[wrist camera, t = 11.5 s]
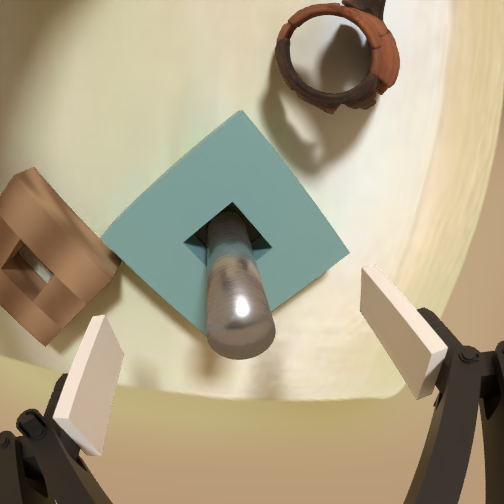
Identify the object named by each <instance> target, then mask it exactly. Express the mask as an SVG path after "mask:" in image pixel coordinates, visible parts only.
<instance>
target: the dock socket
mask: <svg viewBox="0 0 504 504" xmlns="http://www.w3.org/2000/svg"><path fill="white" fill-rule="evenodd" d="M231 202H233V203H234V204H235V205H236V206H237V207H238V208H239V209H240V211H241V212H242V213H243V214H244V215H245V216H246V217H247V219H248V220H249V221H250V222H251V223H252V224H253V226H254V227H255V228H256V229H257V230H258V231H259V233H260V234H261V236H260V237H258V238H257V239H256V240H254V241H253V242H252V243H251V247H252V250H253V254H254V257H255V260H256V264H257V267H258V270H259V274H260V277H261V281H262V284H263V287H264V291H265V294H266V298H267V301H268V304H269V308H270V311H272V310H274V309H275V308H277V307H278V306H279V305H281V304H282V303H284V302H285V301H286V300H288V299H289V298H290V297H292V296H293V295H295V294H296V293H297V292H299V291H300V290H301V289H303V288H304V287H305V286H307V285H308V284H309V283H311V282H312V281H313V280H315V279H316V278H317V277H319V276H320V275H321V274H323V273H324V272H325V271H327V270H328V269H329V268H331V267H332V266H333V265H335V264H336V263H337V262H339V261H340V260H341V259H342V258H344V257H345V256H346V255H348V254H349V253H350V252H349V251H348V249H347V248H346V246H345V245H344V244H343V242H342V241H341V239H340V238H339V236H338V235H337V233H336V232H335V231H334V229H333V228H332V226H331V225H330V223H329V222H328V221H327V219H326V218H325V216H324V215H323V214H322V212H321V211H320V209H319V208H318V207H317V205H316V204H315V203H314V201H313V200H312V198H311V197H310V196H309V194H308V193H307V192H306V190H305V189H304V188H303V186H302V185H301V184H300V182H299V181H298V180H297V178H296V177H295V176H294V174H293V173H292V172H291V170H290V169H289V168H288V166H287V165H286V164H285V163H284V161H283V160H282V159H281V157H280V156H279V155H278V154H277V152H276V151H275V150H274V148H273V147H272V146H271V145H270V143H269V142H268V141H267V140H266V138H265V137H264V136H263V135H262V133H261V132H260V131H259V130H258V128H257V127H256V126H255V125H254V124H253V122H252V121H251V120H250V119H249V117H248V116H247V115H246V114H245V113H244V111H243V110H241V111H238V112H236V113H235V114H234V115H233V116H231V117H230V118H229V119H227V120H226V121H225V122H224V123H222V124H221V125H220V126H219V127H217V128H216V129H215V130H214V131H213V132H211V133H210V134H209V135H208V136H206V137H205V138H204V139H203V140H202V141H200V142H199V143H198V144H197V145H196V146H195V147H193V148H192V149H191V150H190V151H189V152H188V153H186V154H185V155H184V156H183V157H182V158H181V159H179V160H178V161H177V162H176V163H175V164H174V165H173V166H172V167H170V168H169V169H168V170H167V171H166V172H165V173H164V174H163V175H162V176H160V177H159V178H158V179H157V180H156V181H155V182H154V183H153V184H152V185H151V186H150V187H149V188H148V189H146V190H145V191H144V192H143V193H142V194H141V195H140V196H139V197H138V198H137V199H136V200H135V201H134V202H133V203H132V204H131V205H130V206H129V207H128V208H127V209H126V210H125V211H124V212H123V213H122V214H121V215H120V216H119V217H118V218H117V219H116V220H115V221H114V222H113V223H112V224H111V225H110V226H109V228H108V229H107V230H106V231H105V233H104V234H103V235H102V237H101V239H102V240H103V241H104V243H105V244H106V245H107V246H108V247H109V248H110V249H111V250H112V251H114V252H115V253H116V254H117V255H118V256H119V257H120V258H121V259H122V260H123V261H124V262H125V263H126V264H127V265H128V266H129V267H130V268H131V269H132V270H133V271H134V272H135V273H136V274H137V275H138V276H139V277H140V278H141V279H143V280H144V281H145V282H146V283H147V284H148V285H149V286H150V287H151V288H152V289H153V290H154V291H155V292H157V293H158V294H159V295H160V296H161V297H162V298H163V299H164V300H165V301H167V302H168V303H169V304H170V305H171V306H172V307H173V308H174V309H175V310H177V311H178V312H179V313H180V314H181V315H182V316H183V317H185V318H186V319H187V320H188V321H189V322H190V323H192V324H193V325H194V326H195V327H196V328H197V329H199V330H200V331H201V332H202V333H203V334H204V335H206V336H207V248H206V247H205V246H204V245H203V244H202V243H201V242H200V241H199V240H198V239H197V238H196V237H195V236H194V235H193V234H194V233H195V232H196V231H197V230H199V229H200V228H201V227H202V226H203V225H205V224H206V223H207V222H208V221H209V220H211V219H212V218H213V217H214V216H215V215H217V214H218V213H219V212H220V211H222V210H223V209H224V208H225V207H226V206H228V205H229V204H230V203H231Z"/></svg>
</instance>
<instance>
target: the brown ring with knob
mask: <svg viewBox="0 0 504 504" xmlns="http://www.w3.org/2000/svg"><path fill="white" fill-rule="evenodd" d="M385 2H386V0H342V4H343V5H344V6H341V5H340V4H339V3H328V4H316V5H311V6H309V7H305V8H304V9H301V10H299V11H298V12H297V13H295V14H294V15H293V16H292V17H291V18H290V19H289V20H288V24H284V25H283V27H282V28H281V30H280V33H279V35H278V38H277V44H276V47H275V54H276V60H277V64H278V67H279V70H280V73H281V75H282V77H283V79H284V81H285V82H286V84H287V85H288V86H289V88H290V89H291V90H295V92H296V94H297V95H298V97H300V98H301V99H303V100H304V101H306V102H308V103H310V104H312V105H314V106H316V107H318V108H319V109H321V110H323V111H325V112H327V113H329V114H333V113H334V112H335V110H336V109H337V108H338V106H339V105H341V104H345V105H346V106H348V107H349V108H353V109H358V108H362V109H368V108H370V107H372V106H373V105H375V103H376V100H375V97H376V92H378V93H379V94H380V95H382V94H383V93H384V92H385V91H386V90H387V89H388V88H390V87H391V86H393V85H394V84H395V81H396V79H397V76H398V72H399V68H400V58H399V52H398V49H397V46H396V42H395V39H394V37H393V35H392V33H391V32H390V31H389V30H388V29H387V27H386V25H385V24H384V22H383V12H384V6H385ZM321 15H335V16H339V17H344V18H346V19H348V20H349V21H351V22H353V23H354V24H355V25H357V26H358V27H359V28H360V29H361V30H362V32H363V33H364V34H365V36H366V38H367V40H368V42H369V45H370V48H371V64H370V67H369V70H368V74H367V75H366V77H365V78H364V80H363V81H362V82H361V83H360V84H359V85H357V86H356V87H354V88H353V89H351V90H348V91H346V92H342V93H336V94H331V93H324V92H320V91H318V90H315V89H314V88H312V87H310V86H308V85H307V84H306V83H305V82H303V81H302V80H301V78H300V77H299V76H298V74H297V73H296V71H295V70H294V67H293V65H292V62H291V58H290V38H291V36H292V34H293V32H294V30H295V29H296V28H297V27H300V26H301V25H302V24H303V23H304V22H306V21H307V20H309V19H311V18H313V17H316V16H321ZM378 79H379V80H380V82H379V84H378V85H377V80H378ZM376 86H377V87H376Z"/></svg>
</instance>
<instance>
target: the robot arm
mask: <svg viewBox="0 0 504 504" xmlns="http://www.w3.org/2000/svg"><path fill="white" fill-rule="evenodd" d="M360 312H361V313H362V315H363V316H364V318H365V319H366V321H367V322H368V324H369V325H370V327H371V328H372V330H373V331H374V333H375V334H376V336H377V338H378V339H379V341H380V342H381V344H382V345H383V347H384V348H385V350H386V351H387V353H388V355H389V356H390V358H391V359H392V361H393V362H394V364H395V366H396V367H397V369H398V370H399V372H400V374H401V375H402V377H403V378H404V380H405V382H406V383H407V385H408V387H409V388H410V390H411V391H412V393H413V395H414V396H415V398H416V400H419V399H421V398H423V397H426V396H428V395H431V394H432V392H433V389H434V387H435V385H436V387H437V388H438V390H439V394H438V396H437V399H436V401H435V403H434V406H435V409H434V413H433V417H432V421H431V425H430V428H429V432H428V435H427V439H426V442H425V446H424V449H423V452H422V455H421V458H420V461H419V464H418V467H417V470H416V473H415V475H414V478H413V481H412V483H411V486H410V489H409V491H408V494H407V496H406V499H405V501H404V504H458V501H459V497H460V494H461V490H462V487H463V483H464V479H465V475H466V471H467V467H468V463H469V458H470V453H471V447H472V443H473V438H474V432H475V426H476V419H477V412H478V404H479V406H480V414H481V421H482V430H483V441H484V455H485V474H486V475H485V476H486V504H504V341H501V342H500V343H498V345H497V347H496V349H495V351H490V352H479V351H478V350H477V349H475V348H474V347H471V346H463V345H462V344H461V343H460V342H459V341H458V340H457V338H456V337H455V336H454V335H453V334H452V333H451V332H450V330H449V329H448V328H447V327H445V325H444V324H443V322H442V321H440V319H439V318H438V317H437V316H436V315H435V314H434V312H432V311H430V310H428V309H426V308H425V307H424V308H421V309H417V310H416V309H415V308H414V307H413V306H412V304H411V303H410V302H409V301H408V300H407V299H406V298H405V297H404V295H403V294H402V293H401V292H400V291H399V290H398V289H397V288H396V287H395V285H394V284H393V283H392V282H391V281H390V280H389V279H388V278H387V277H386V276H385V274H384V273H383V272H382V271H381V270H380V269H379V268H378V267H377V266H376V265H375V264H374V265H370V266H366V267H362V276H361V301H360ZM123 357H124V353H123V351H122V349H121V347H120V345H119V343H118V341H117V339H116V337H115V335H114V333H113V330H112V328H111V326H110V324H109V322H108V320H107V317H106V315H99V316H93V317H92V319H91V321H90V323H89V326H88V328H87V330H86V333H85V335H84V337H83V339H82V342H81V344H80V347H79V349H78V351H77V354H76V356H75V359H74V361H73V364H72V366H71V369H70V371H69V373H68V374H63V375H62V376H61V377H60V378H59V379H58V381H57V382H56V385H55V387H54V392H52V395H51V398H50V400H49V403H48V406H47V409H46V412H45V414H44V417H43V416H42V415H41V414H40V413H39V411H38V410H36V409H28V410H26V411H24V412H23V413H22V414H21V415H20V416H19V417H18V419H17V422H16V427H17V429H18V430H19V431H20V432H21V433H22V434H23V436H19V437H15V435H13V433H12V432H10V431H3V432H1V433H0V504H56V502H57V504H113V503H112V502H111V501H110V499H109V498H108V497H107V495H106V494H105V493H104V491H103V490H102V488H101V487H100V485H99V484H98V482H97V481H96V479H95V478H94V477H93V475H92V473H91V472H90V470H89V469H88V467H87V466H86V464H85V463H84V461H83V460H82V458H81V457H80V456H79V451H80V449H81V450H82V451H83V452H84V453H85V454H86V455H91V456H102V452H103V446H104V441H105V436H106V430H107V426H108V421H109V416H110V411H111V406H112V402H113V398H114V393H115V389H116V385H117V381H118V377H119V372H120V368H121V364H122V360H123ZM54 498H55V499H54ZM55 500H56V502H55Z"/></svg>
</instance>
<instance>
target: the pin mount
mask: <svg viewBox="0 0 504 504" xmlns="http://www.w3.org/2000/svg"><path fill="white" fill-rule="evenodd" d="M24 243H25V244H26V246H27V247H28V248H29V249H30V250H31V251H32V252H33V253H34V254H35V255H36V256H37V257H38V258H39V259H40V260H41V261H42V262H43V263H44V264H45V266H46V267H47V268H48V269H49V270H50V271H51V272H52V273H53V274H54V275H53V277H52V278H51V279H50V280H49V282H48V283H46V282H45V281H44V280H43V279H42V278H41V277H40V276H39V275H38V274H37V273H36V272H35V271H34V270H33V269H32V268H31V267H30V266H29V265H28V264H27V263H26V261H25V260H24V259H23V258H22V257H21V256H20V255H19V254H18V252H19V251H20V249H21V248H22V246H23V245H24ZM121 261H122V260H121V259H119V258H118V257H117V256H116V255H115V254H114V253H113V252H112V251H111V250H110V249H109V248H108V247H107V246H106V245H105V244H104V243H103V242H102V241H101V240H100V239H99V238H98V237H97V236H96V234H95V233H94V232H93V231H92V230H91V229H90V228H89V227H88V226H87V225H86V224H85V223H84V222H83V221H82V220H81V219H80V218H79V217H78V216H77V215H76V214H75V212H74V211H73V210H72V209H71V208H70V207H69V206H68V205H67V204H66V203H65V202H64V201H63V199H62V198H61V197H60V196H59V195H58V194H57V193H56V192H55V191H54V189H53V188H52V187H51V186H50V185H49V184H48V183H47V181H46V180H45V179H44V178H43V177H42V176H41V175H40V173H39V172H38V171H37V170H36V169H35V168H34V167H33V168H30V169H28V170H25V171H23V172H21V173H18V174H16V175H14V176H13V178H12V179H11V181H10V182H9V184H8V185H7V187H6V188H5V190H4V192H3V193H2V195H1V196H0V305H1V306H2V307H3V308H4V309H5V310H6V311H7V312H8V313H9V314H10V315H11V316H12V317H13V318H14V319H15V320H16V321H17V322H18V323H19V324H20V325H22V326H23V327H24V328H25V329H26V330H27V331H28V332H29V333H30V334H31V335H32V336H34V337H35V338H36V339H37V340H38V341H39V342H40V343H42V344H43V345H44V346H45V347H46V346H47V345H48V344H49V343H50V341H51V340H52V339H53V338H54V337H55V336H56V335H57V334H58V333H59V332H60V331H61V330H62V329H63V328H64V327H65V326H66V325H67V324H68V323H69V322H70V321H71V319H72V318H73V317H74V316H75V315H76V314H77V313H78V312H79V311H80V310H81V309H82V308H83V307H84V306H85V305H86V304H87V303H88V302H89V301H90V300H91V299H92V298H93V297H94V296H95V295H96V294H97V293H98V292H99V291H100V290H101V289H103V288H104V287H105V286H106V285H107V284H108V283H109V282H110V281H111V280H112V278H113V276H114V274H115V272H116V270H117V268H118V267H119V265H120V263H121Z"/></svg>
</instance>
